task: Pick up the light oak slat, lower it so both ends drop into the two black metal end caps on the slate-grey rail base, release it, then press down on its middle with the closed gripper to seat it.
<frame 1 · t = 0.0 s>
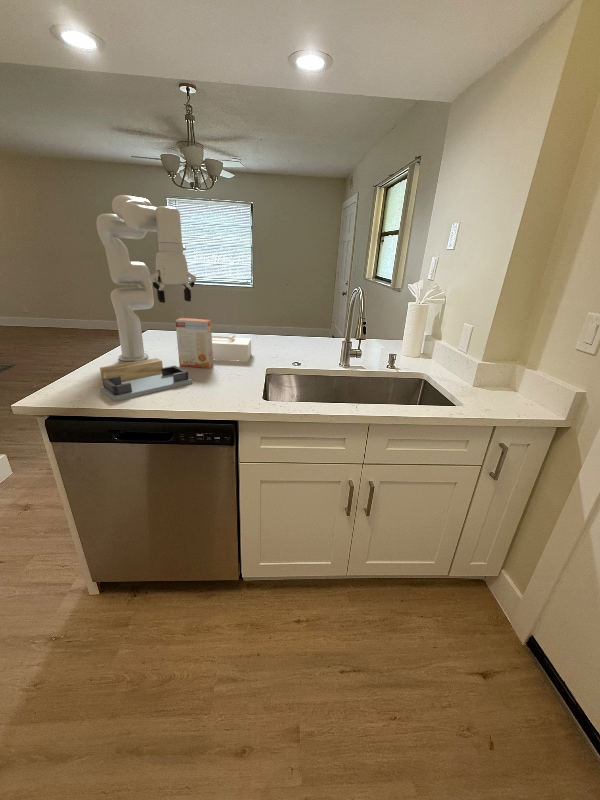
hand: (175, 301, 120), 31 cm above the table, tool pointing down, fingers open, 9 cm apart
cracker box: (196, 365, 155), on the table
slat: (134, 378, 136), on the table
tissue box: (224, 357, 171), on the table
rail base: (148, 386, 128), on the table
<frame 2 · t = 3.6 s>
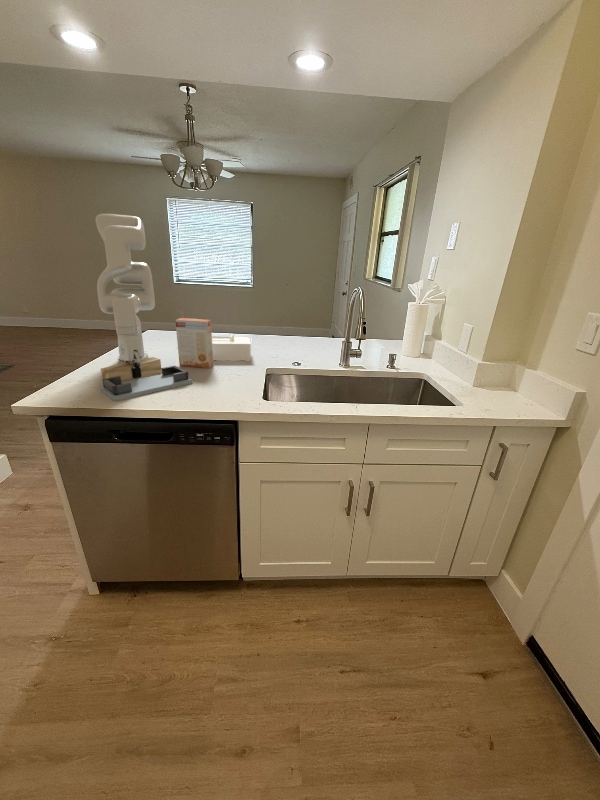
hand: (133, 375, 135), 1 cm above the table, tool pointing down, fingers closed on slat, 5 cm apart
slat: (134, 378, 135), on the table, touching gripper
when the fingers open (4 cm above the table, at t = 10.7 s): slat drops 1 cm, resting on rail base.
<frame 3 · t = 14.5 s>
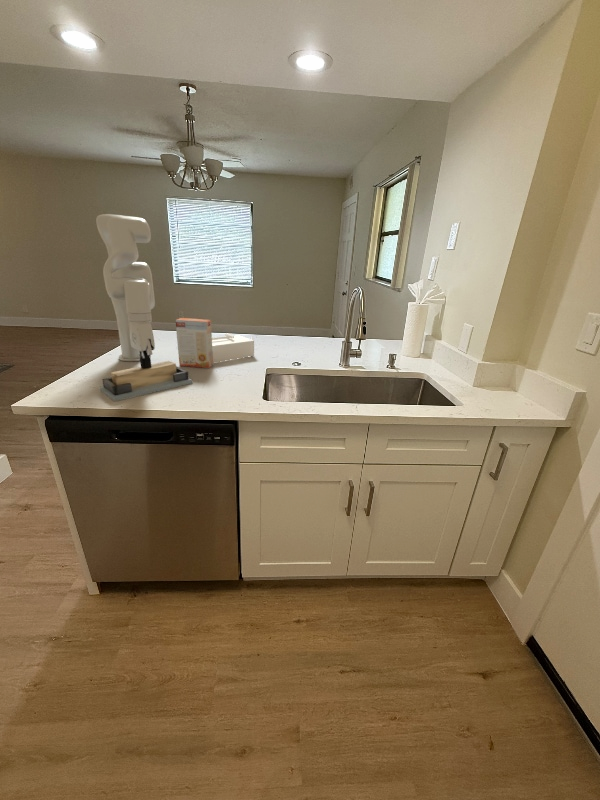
hand: (146, 367, 125), 8 cm above the table, tool pointing down, fingers closed
slat: (147, 383, 127), point 1 cm above the table, touching gripper, rail base
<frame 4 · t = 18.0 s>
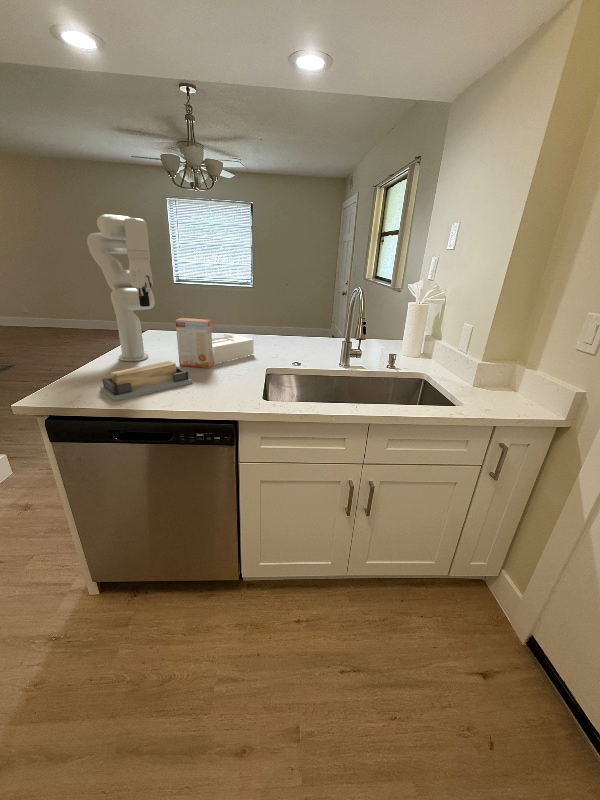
hand: (145, 306, 133), 27 cm above the table, tool pointing down, fingers closed
slat: (147, 383, 127), point 1 cm above the table, touching rail base
at the end: slat 0.4 cm off-centre on the rail base, point 1.5 cm above the rail base's base; slat tilted 0°; the gripper is holding nothing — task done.
